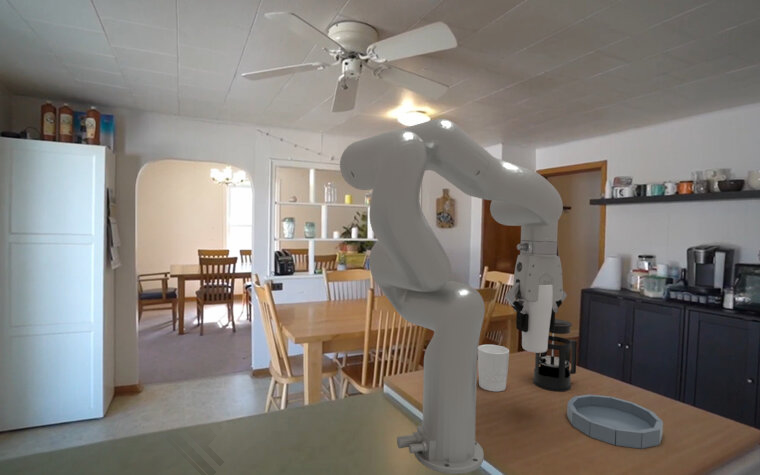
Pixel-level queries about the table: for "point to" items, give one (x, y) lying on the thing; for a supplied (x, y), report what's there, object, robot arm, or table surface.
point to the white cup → (492, 367)
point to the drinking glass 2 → (539, 321)
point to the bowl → (615, 421)
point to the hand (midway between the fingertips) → (535, 329)
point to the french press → (556, 361)
